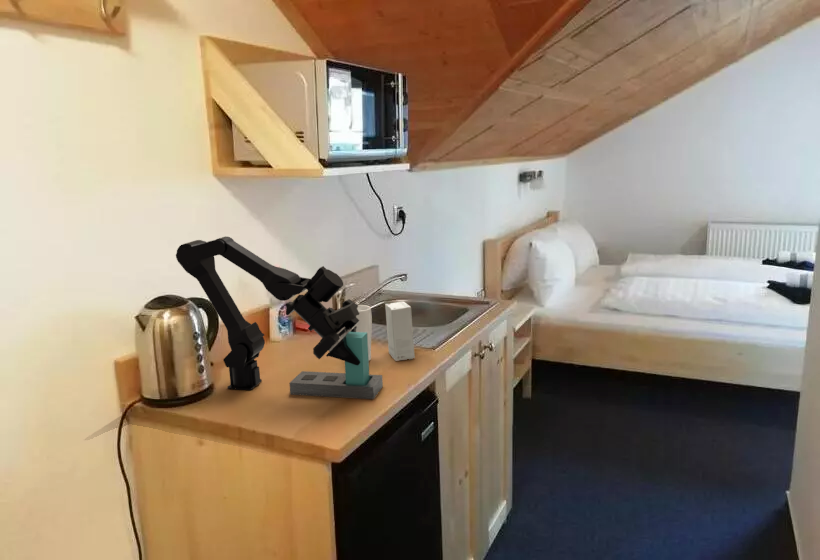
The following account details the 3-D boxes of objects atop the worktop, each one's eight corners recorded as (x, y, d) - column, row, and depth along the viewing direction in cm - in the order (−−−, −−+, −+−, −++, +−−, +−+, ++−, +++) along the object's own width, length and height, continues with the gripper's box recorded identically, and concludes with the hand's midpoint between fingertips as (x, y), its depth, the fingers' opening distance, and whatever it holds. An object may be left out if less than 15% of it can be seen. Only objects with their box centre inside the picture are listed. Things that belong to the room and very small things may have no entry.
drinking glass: (372, 355, 181) (369, 304, 178) (375, 363, 174) (372, 310, 171) (348, 357, 180) (345, 305, 177) (350, 365, 173) (347, 312, 170)
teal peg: (346, 389, 153) (343, 337, 150) (351, 382, 157) (349, 331, 154) (364, 390, 152) (361, 338, 149) (369, 383, 156) (367, 332, 153)
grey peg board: (290, 394, 155) (289, 382, 154) (302, 382, 162) (302, 370, 162) (373, 399, 150) (373, 386, 149) (382, 386, 157) (382, 374, 157)
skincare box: (415, 359, 176) (413, 307, 173) (393, 361, 175) (391, 309, 172) (407, 350, 184) (405, 300, 181) (386, 352, 183) (384, 302, 180)
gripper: (323, 302, 142) (373, 351, 141) (349, 283, 159) (393, 327, 159) (292, 334, 145) (341, 383, 145) (321, 313, 163) (364, 356, 163)
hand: (362, 360), depth 153 cm, fingers closed on teal peg, 4 cm apart
